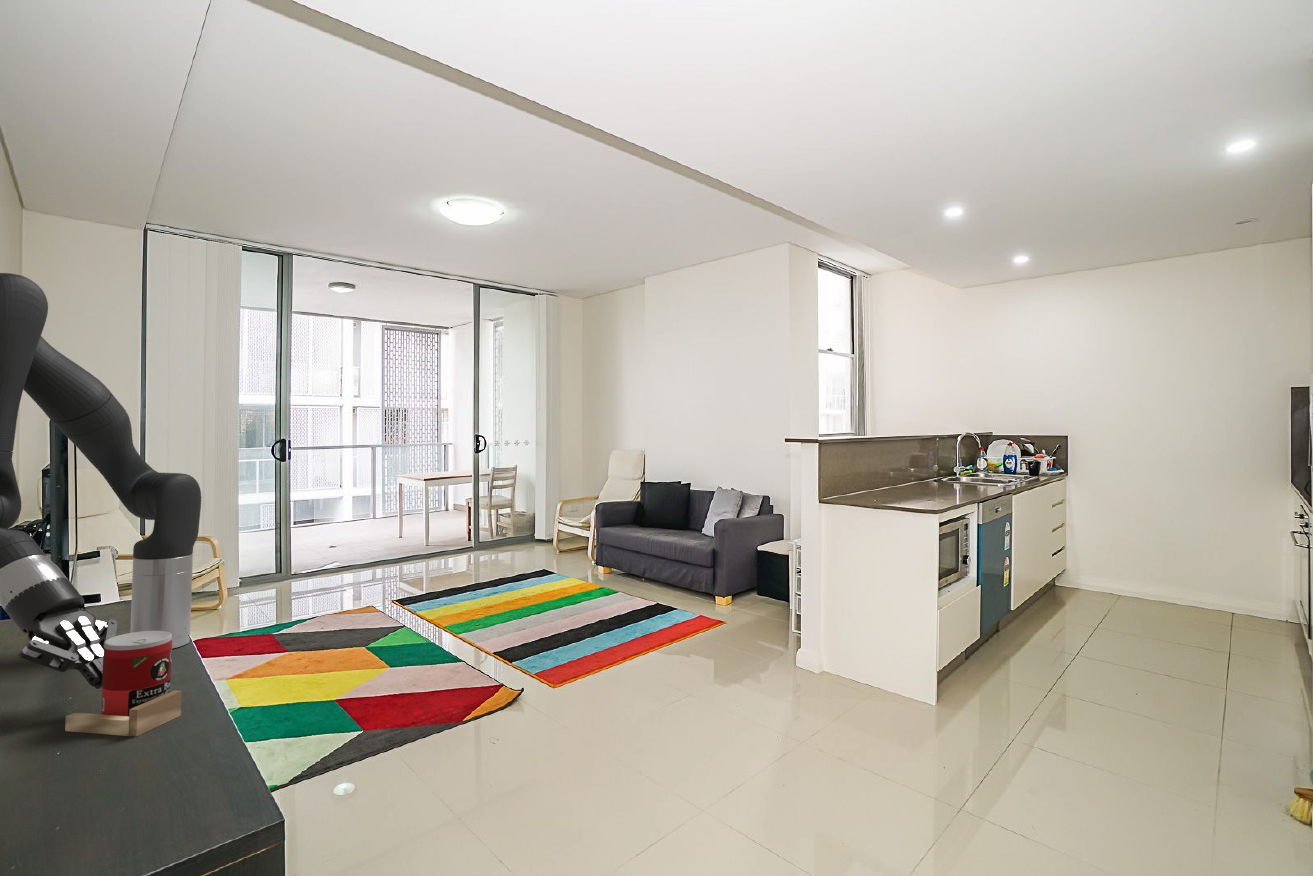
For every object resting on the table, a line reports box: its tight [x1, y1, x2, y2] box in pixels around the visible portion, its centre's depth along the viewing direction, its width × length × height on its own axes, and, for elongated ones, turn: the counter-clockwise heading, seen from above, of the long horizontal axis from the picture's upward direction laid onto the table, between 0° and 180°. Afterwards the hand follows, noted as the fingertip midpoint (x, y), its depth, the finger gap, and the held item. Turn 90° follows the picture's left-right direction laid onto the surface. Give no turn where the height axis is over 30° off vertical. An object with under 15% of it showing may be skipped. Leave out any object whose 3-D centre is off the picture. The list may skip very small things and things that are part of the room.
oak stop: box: [64, 689, 183, 738], centre depth 90 cm, size 11×7×4 cm, turn 83°
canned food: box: [100, 631, 173, 717], centre depth 93 cm, size 8×8×11 cm
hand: (107, 683), depth 93 cm, fingers closed
